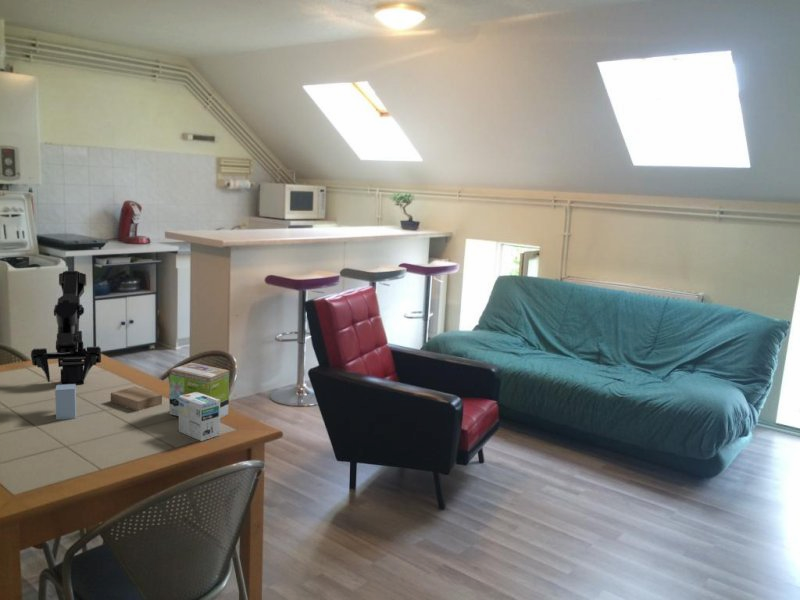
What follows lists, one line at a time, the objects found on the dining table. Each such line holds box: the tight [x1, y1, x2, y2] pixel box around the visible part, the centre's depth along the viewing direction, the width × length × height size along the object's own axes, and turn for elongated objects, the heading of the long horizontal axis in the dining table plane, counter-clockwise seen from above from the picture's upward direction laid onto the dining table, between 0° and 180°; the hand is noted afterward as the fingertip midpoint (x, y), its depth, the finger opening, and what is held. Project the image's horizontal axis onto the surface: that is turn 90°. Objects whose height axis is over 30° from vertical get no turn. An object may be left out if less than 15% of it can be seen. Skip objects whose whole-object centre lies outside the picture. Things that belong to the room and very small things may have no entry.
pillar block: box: [54, 383, 77, 421], centre depth 194 cm, size 5×5×9 cm
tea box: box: [168, 361, 230, 419], centre depth 201 cm, size 15×10×15 cm, turn 68°
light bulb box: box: [178, 392, 221, 442], centre depth 187 cm, size 11×7×11 cm, turn 54°
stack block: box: [110, 386, 163, 412], centre depth 209 cm, size 9×13×4 cm
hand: (66, 380), depth 195 cm, fingers open, 9 cm apart
